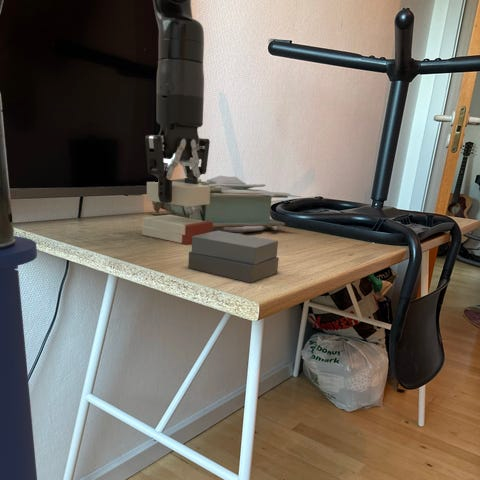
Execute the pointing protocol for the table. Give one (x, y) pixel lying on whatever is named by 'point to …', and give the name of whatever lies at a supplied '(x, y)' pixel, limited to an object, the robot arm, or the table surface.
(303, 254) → the table surface
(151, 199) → the white book
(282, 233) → the table surface
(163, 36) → the robot arm
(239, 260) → the grey stack
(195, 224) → the white stack
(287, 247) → the table surface
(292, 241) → the table surface
